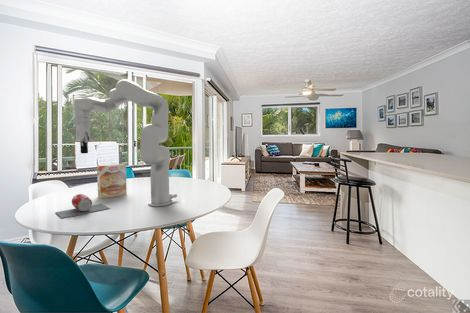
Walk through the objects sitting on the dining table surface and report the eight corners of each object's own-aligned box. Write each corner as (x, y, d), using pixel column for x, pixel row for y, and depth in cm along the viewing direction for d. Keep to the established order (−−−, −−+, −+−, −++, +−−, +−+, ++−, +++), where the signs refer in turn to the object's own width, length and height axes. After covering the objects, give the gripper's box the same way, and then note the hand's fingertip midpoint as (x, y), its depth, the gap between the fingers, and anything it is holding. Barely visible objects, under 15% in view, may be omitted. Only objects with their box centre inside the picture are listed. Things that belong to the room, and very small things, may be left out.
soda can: (68, 197, 115) (73, 202, 107) (83, 190, 120) (90, 195, 111) (74, 209, 117) (79, 215, 109) (89, 202, 122) (95, 207, 113)
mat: (101, 204, 125) (101, 203, 125) (110, 208, 117) (109, 207, 117) (55, 213, 110) (55, 212, 110) (61, 218, 102) (61, 217, 102)
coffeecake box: (100, 198, 138) (99, 165, 136) (97, 196, 143) (96, 165, 141) (127, 194, 148) (126, 164, 146) (123, 192, 153) (122, 163, 152)
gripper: (71, 121, 134) (72, 153, 136) (79, 119, 125) (80, 154, 126) (86, 122, 140) (87, 152, 141) (94, 120, 130) (96, 153, 131)
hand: (84, 153), depth 134 cm, fingers closed
